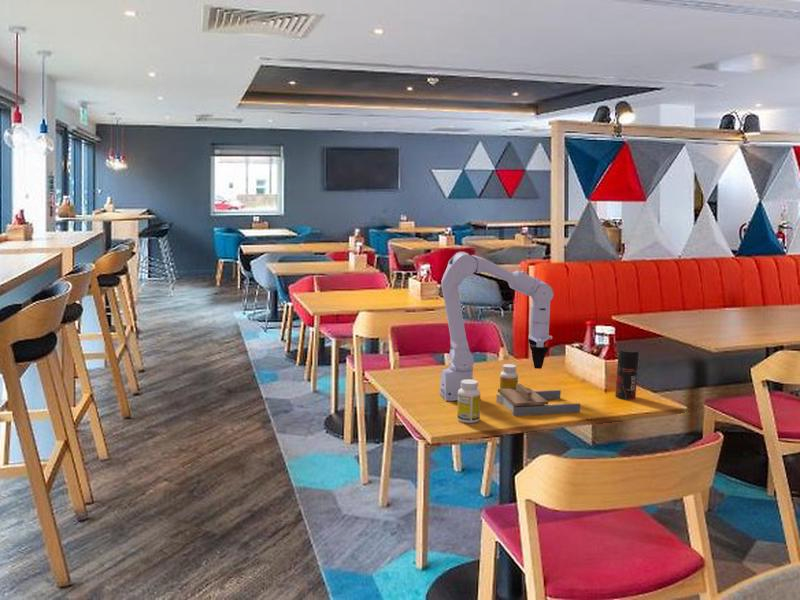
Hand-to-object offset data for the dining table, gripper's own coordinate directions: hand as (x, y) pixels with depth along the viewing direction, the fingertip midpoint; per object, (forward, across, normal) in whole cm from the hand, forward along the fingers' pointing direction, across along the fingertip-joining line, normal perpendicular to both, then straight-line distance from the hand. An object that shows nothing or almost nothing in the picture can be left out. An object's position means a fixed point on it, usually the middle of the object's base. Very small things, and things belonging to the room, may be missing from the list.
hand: (537, 365), depth 220 cm
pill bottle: (+10, -26, +20) cm, 34 cm away
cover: (+7, -11, +5) cm, 14 cm away
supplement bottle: (+10, -1, +8) cm, 13 cm away
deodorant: (+10, +5, -28) cm, 30 cm away
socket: (+10, -10, 0) cm, 14 cm away
